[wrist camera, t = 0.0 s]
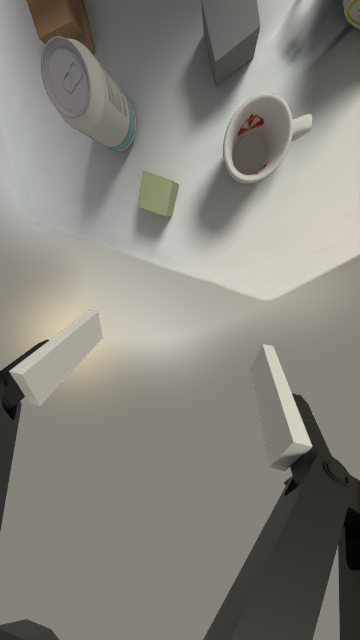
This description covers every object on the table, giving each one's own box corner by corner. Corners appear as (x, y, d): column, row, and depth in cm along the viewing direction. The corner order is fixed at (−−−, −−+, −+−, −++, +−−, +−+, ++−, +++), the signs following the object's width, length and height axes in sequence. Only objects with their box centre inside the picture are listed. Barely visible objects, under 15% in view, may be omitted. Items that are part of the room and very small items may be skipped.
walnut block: (50, 8, 24) (15, -35, 20) (80, -10, 23) (50, -58, 19) (67, 65, 27) (39, 38, 23) (95, 52, 26) (71, 21, 21)
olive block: (153, 175, 32) (142, 170, 28) (179, 184, 32) (173, 180, 28) (148, 207, 35) (138, 207, 30) (172, 215, 35) (165, 216, 30)
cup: (296, 98, 24) (325, 56, 18) (296, 169, 28) (321, 156, 21) (217, 137, 28) (217, 114, 21) (227, 196, 31) (229, 192, 25)
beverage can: (91, 120, 30) (24, 74, 19) (117, 78, 26) (54, -3, 16) (119, 163, 32) (73, 141, 22) (147, 128, 29) (108, 85, 19)
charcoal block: (204, 34, 23) (200, -5, 19) (243, -1, 21) (249, -52, 17) (216, 86, 25) (215, 62, 21) (252, 58, 23) (260, 26, 19)
